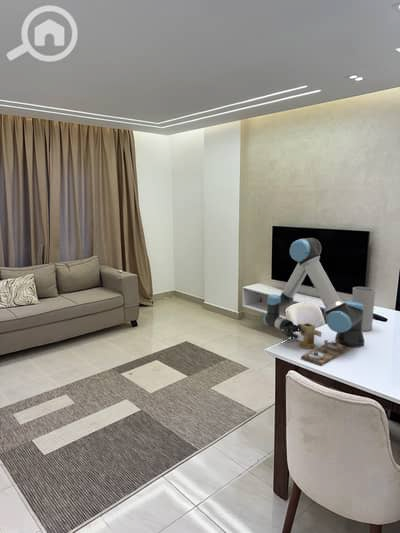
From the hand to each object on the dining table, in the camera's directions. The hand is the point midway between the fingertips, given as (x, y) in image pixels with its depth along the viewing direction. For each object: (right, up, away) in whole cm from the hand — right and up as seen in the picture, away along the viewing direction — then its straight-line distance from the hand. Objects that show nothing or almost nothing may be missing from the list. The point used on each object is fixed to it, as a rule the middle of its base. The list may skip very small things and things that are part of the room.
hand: (312, 336), depth 197 cm
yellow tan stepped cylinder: (-2, -6, +4) cm, 7 cm away
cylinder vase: (+41, -1, +34) cm, 53 cm away
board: (+5, -8, -7) cm, 12 cm away
